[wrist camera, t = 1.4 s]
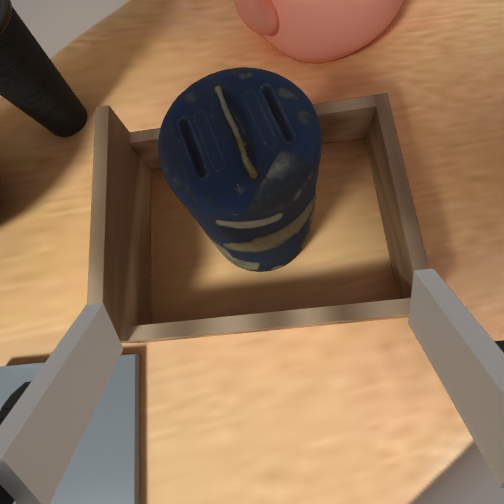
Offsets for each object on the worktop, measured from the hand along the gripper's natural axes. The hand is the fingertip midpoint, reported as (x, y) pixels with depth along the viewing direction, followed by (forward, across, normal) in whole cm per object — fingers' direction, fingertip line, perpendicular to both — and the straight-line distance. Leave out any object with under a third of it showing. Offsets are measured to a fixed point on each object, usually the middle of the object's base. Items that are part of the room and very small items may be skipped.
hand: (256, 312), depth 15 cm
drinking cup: (+32, -22, +6) cm, 39 cm away
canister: (+20, 0, -6) cm, 21 cm away
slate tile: (+7, -20, -18) cm, 28 cm away
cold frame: (+20, 0, -6) cm, 21 cm away
